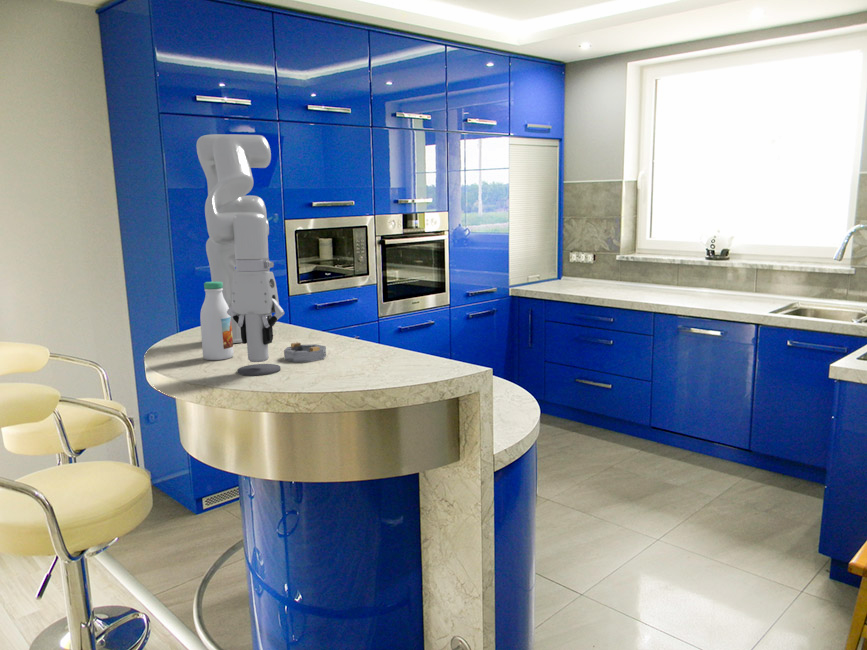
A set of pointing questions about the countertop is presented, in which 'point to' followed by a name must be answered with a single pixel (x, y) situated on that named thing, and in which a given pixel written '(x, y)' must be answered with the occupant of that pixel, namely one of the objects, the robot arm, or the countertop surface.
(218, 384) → the countertop surface
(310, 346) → the ring
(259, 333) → the beverage can
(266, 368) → the slate coaster
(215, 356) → the milk bottle
